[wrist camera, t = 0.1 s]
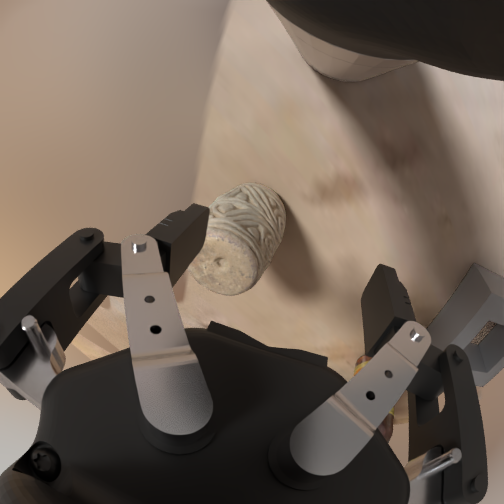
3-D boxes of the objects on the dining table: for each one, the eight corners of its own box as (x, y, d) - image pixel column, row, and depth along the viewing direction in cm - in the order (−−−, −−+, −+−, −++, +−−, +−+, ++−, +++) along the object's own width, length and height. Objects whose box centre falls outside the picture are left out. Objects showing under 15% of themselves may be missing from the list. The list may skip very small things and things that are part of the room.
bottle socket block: (473, 262, 27) (494, 297, 21) (531, 293, 25) (548, 322, 20) (412, 345, 36) (418, 381, 30) (475, 360, 34) (483, 390, 29)
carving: (234, 166, 29) (184, 212, 19) (299, 197, 29) (283, 260, 19) (216, 215, 32) (167, 275, 23) (275, 243, 33) (249, 316, 23)
